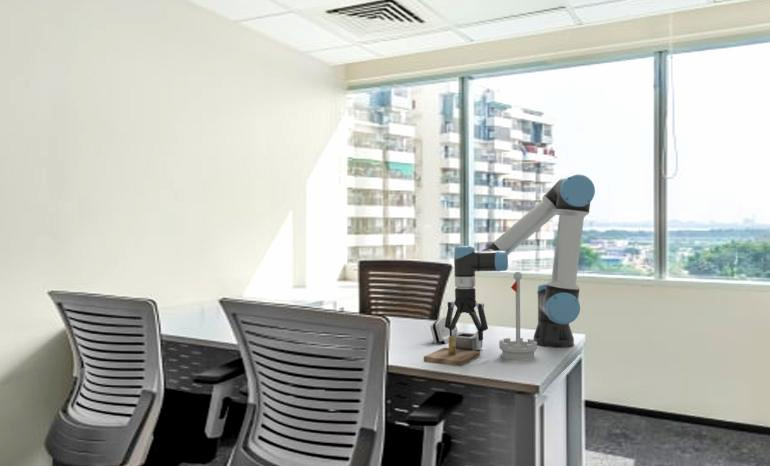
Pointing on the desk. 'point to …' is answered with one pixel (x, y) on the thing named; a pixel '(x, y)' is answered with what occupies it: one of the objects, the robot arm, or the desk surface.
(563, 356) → the desk surface
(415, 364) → the desk surface
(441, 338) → the hinge
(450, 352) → the wooden peg stand
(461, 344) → the grey hollow square block
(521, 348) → the flag stand
